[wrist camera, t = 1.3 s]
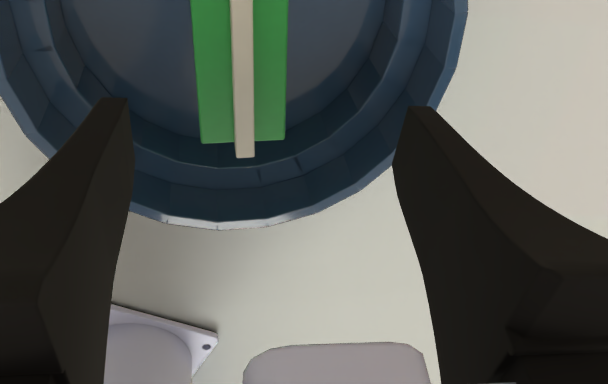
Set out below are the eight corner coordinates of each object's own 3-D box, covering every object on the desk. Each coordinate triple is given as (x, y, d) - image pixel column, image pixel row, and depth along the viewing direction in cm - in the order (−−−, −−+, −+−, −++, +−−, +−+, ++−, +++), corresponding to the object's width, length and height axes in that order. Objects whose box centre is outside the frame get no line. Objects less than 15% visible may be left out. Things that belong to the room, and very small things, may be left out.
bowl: (293, 206, 30) (308, 274, 26) (-40, 73, 24) (-86, 136, 20) (499, -78, 23) (563, -45, 19) (111, -386, 17) (87, -432, 13)
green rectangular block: (198, 64, 24) (201, 160, 18) (189, -69, 21) (188, -3, 15) (266, 62, 25) (290, 156, 19) (266, -68, 22) (295, -5, 16)
